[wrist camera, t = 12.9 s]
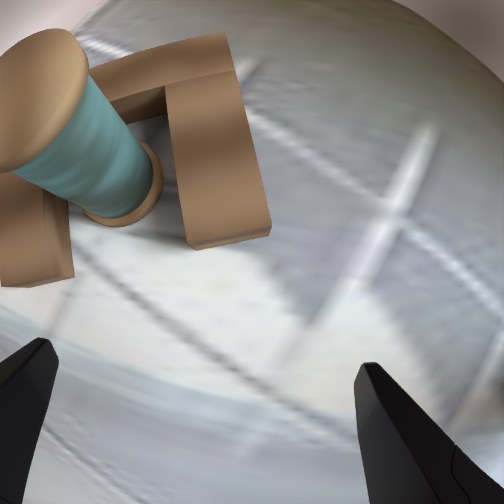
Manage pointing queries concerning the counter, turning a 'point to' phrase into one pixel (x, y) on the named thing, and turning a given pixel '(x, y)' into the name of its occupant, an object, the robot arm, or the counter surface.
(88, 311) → the counter surface
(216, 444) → the counter surface
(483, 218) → the counter surface
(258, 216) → the cutout shelf
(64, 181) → the cord reel
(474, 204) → the counter surface
